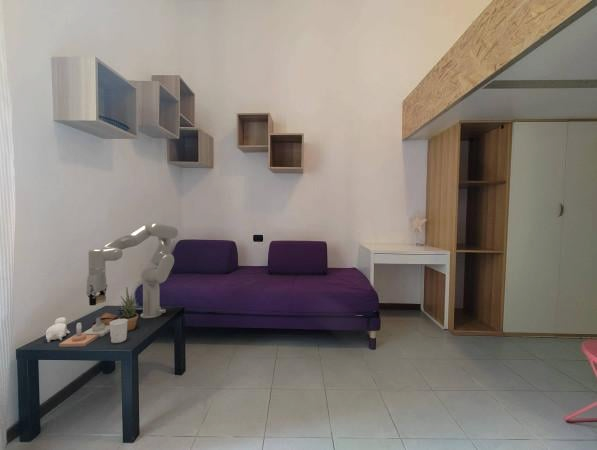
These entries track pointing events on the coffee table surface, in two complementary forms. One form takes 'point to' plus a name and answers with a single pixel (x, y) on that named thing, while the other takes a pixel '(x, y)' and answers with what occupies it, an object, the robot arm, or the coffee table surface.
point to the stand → (98, 328)
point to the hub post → (78, 338)
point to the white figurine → (57, 330)
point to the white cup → (118, 330)
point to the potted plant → (129, 311)
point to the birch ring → (100, 298)
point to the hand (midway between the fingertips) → (97, 302)
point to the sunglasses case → (107, 318)
